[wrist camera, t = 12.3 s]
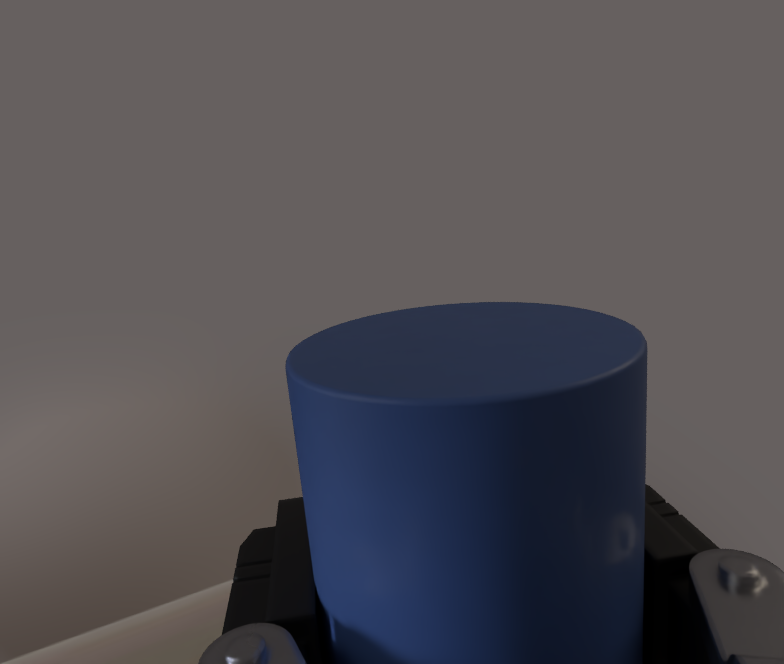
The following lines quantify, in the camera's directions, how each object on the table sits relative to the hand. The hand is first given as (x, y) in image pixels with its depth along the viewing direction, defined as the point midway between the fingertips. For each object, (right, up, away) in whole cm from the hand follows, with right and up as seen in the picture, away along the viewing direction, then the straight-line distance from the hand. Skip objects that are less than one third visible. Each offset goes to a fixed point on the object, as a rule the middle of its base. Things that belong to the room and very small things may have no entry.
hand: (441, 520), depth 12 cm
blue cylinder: (+1, -7, -1) cm, 7 cm away
